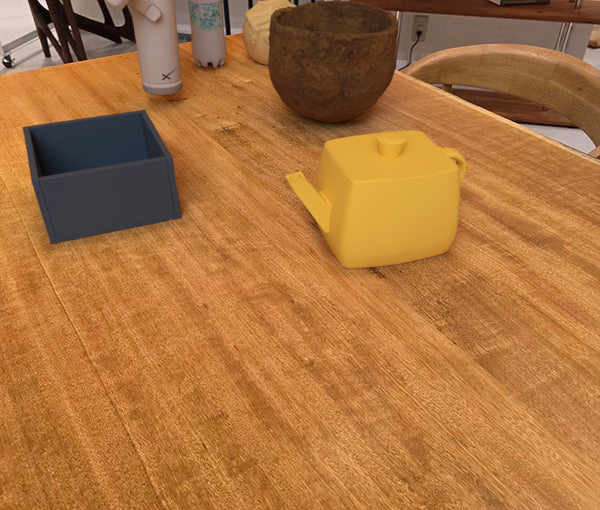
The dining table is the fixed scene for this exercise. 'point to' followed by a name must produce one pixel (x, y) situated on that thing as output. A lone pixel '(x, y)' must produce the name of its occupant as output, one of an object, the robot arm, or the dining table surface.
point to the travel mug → (158, 50)
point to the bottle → (207, 32)
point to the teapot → (384, 197)
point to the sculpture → (260, 28)
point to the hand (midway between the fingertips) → (158, 10)
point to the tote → (101, 175)
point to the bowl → (332, 57)
